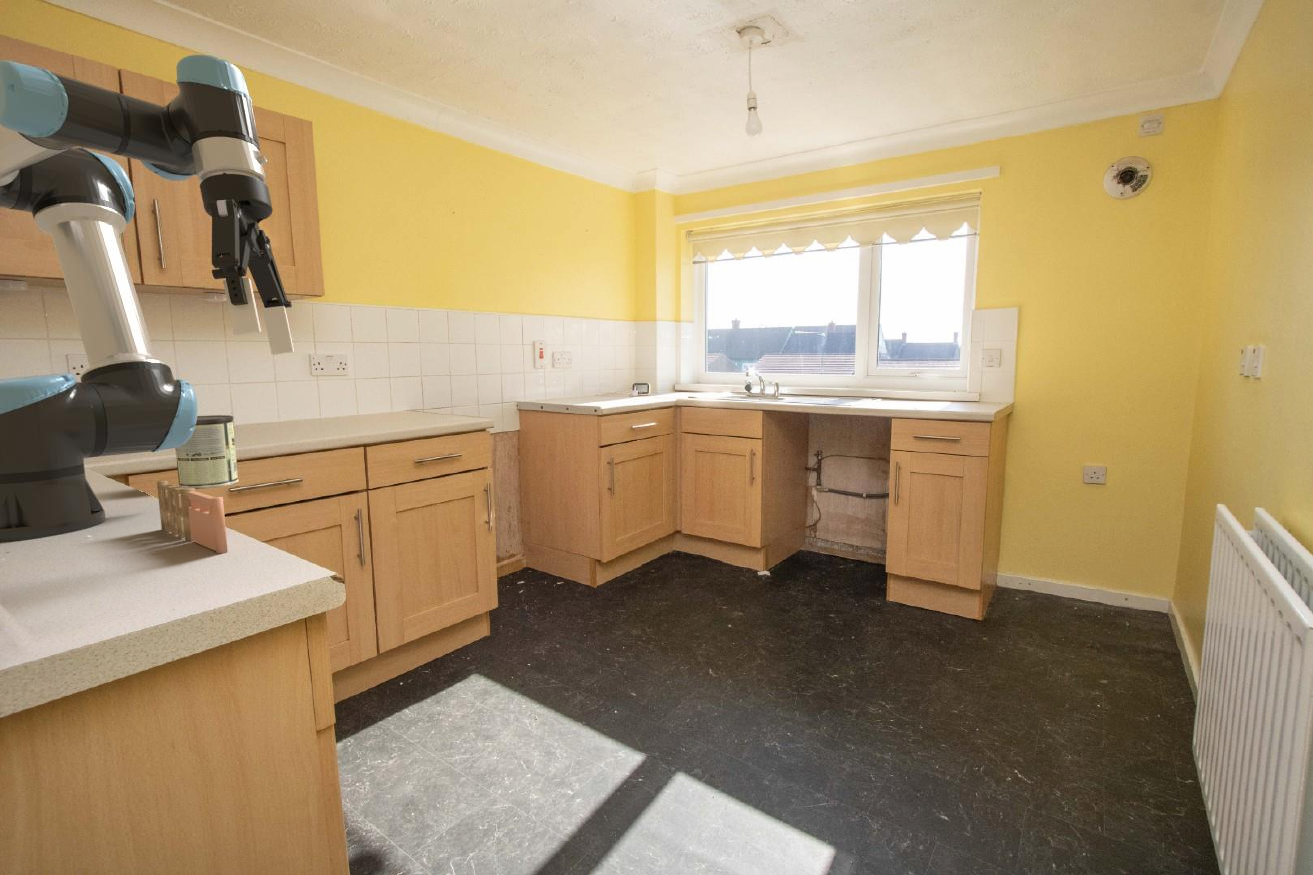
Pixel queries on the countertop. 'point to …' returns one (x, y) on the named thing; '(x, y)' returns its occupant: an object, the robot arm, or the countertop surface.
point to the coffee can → (208, 454)
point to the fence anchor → (174, 509)
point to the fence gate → (207, 521)
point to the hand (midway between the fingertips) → (267, 344)
